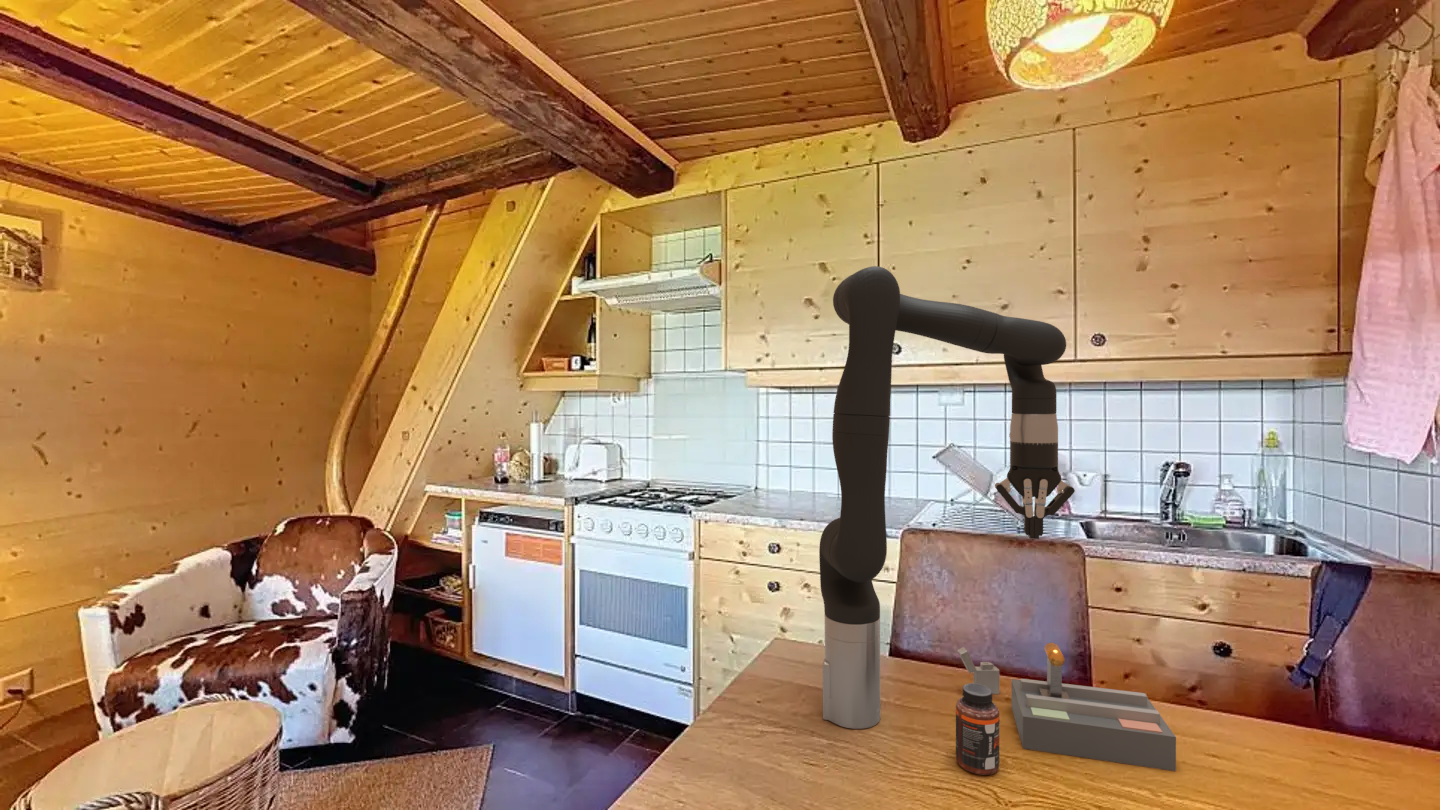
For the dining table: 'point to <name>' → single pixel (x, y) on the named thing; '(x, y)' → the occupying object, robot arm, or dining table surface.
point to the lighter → (981, 672)
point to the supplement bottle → (977, 730)
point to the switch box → (1093, 724)
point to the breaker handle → (1054, 673)
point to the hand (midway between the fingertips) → (1033, 537)
